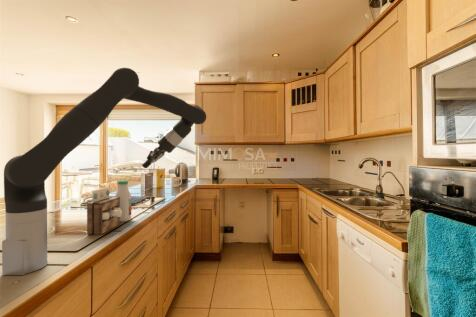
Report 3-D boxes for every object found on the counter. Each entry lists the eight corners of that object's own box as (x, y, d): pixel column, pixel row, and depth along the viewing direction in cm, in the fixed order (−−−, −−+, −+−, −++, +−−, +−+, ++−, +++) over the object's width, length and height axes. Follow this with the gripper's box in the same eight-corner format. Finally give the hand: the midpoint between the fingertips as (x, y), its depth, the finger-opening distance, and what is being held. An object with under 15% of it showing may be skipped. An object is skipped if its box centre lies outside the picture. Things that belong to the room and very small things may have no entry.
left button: (105, 220, 102) (105, 213, 102) (94, 220, 103) (94, 213, 103) (109, 218, 105) (109, 211, 105) (98, 218, 106) (98, 211, 106)
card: (94, 202, 103) (94, 190, 103) (92, 202, 103) (92, 190, 103) (109, 197, 115) (109, 186, 115) (108, 197, 115) (108, 186, 115)
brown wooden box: (100, 234, 101) (100, 203, 101) (87, 234, 102) (87, 203, 101) (119, 224, 116) (119, 197, 116) (107, 223, 117) (107, 196, 116)
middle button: (118, 217, 107) (118, 210, 107) (107, 217, 107) (107, 210, 107) (122, 215, 110) (122, 209, 110) (111, 215, 110) (111, 209, 110)
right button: (117, 214, 112) (117, 208, 112) (106, 214, 112) (106, 208, 112) (120, 213, 115) (120, 207, 115) (110, 213, 115) (110, 206, 115)
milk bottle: (125, 222, 119) (125, 181, 119) (111, 221, 120) (111, 181, 120) (134, 218, 127) (134, 180, 126) (120, 217, 128) (120, 179, 127)
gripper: (169, 135, 117) (144, 160, 117) (160, 133, 103) (131, 161, 104) (180, 146, 116) (155, 171, 117) (172, 145, 103) (143, 174, 104)
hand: (144, 166), depth 110 cm, fingers closed
